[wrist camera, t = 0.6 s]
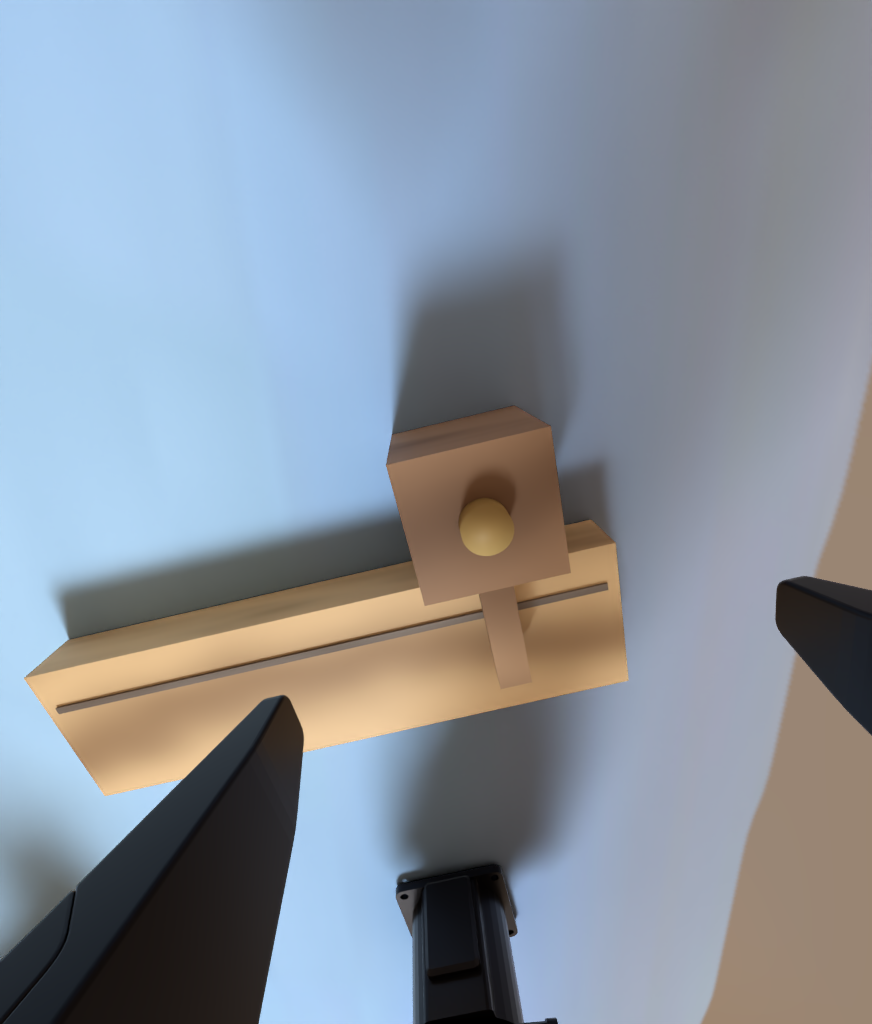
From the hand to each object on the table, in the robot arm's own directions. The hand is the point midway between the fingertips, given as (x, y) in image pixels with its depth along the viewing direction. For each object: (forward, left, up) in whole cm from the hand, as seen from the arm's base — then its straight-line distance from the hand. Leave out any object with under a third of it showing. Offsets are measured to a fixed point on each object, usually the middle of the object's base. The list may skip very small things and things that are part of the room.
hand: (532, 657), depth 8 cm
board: (-6, +7, -11) cm, 15 cm away
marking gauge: (-2, 0, -11) cm, 12 cm away
